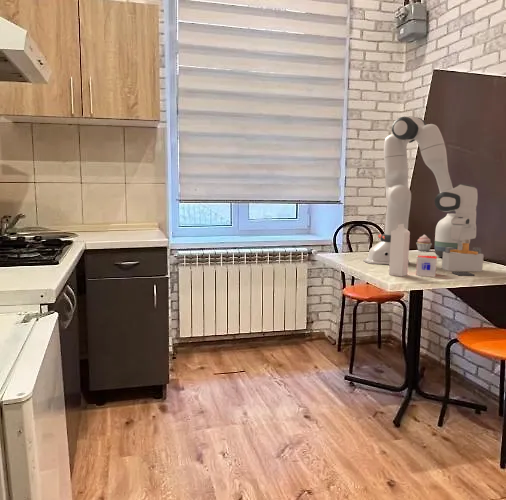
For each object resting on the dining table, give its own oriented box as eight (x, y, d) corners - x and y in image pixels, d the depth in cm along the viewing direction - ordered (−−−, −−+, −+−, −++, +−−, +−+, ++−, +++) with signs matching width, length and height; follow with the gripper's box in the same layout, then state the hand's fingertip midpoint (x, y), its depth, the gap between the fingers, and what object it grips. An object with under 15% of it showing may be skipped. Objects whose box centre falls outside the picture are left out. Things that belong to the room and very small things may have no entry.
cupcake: (421, 249, 305) (422, 233, 304) (434, 251, 298) (436, 234, 296) (412, 250, 300) (413, 234, 299) (425, 252, 292) (426, 235, 291)
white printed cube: (435, 273, 220) (436, 256, 219) (435, 276, 213) (436, 258, 212) (416, 272, 223) (417, 255, 222) (415, 275, 215) (416, 257, 214)
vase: (470, 260, 262) (474, 215, 258) (436, 259, 265) (439, 214, 261) (462, 256, 278) (466, 213, 275) (431, 254, 281) (434, 212, 278)
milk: (407, 275, 216) (410, 224, 213) (401, 276, 211) (405, 225, 208) (394, 273, 219) (397, 223, 216) (388, 274, 215) (391, 224, 212)
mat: (458, 275, 216) (458, 274, 216) (451, 272, 223) (451, 271, 222) (474, 275, 216) (474, 274, 216) (467, 273, 223) (467, 271, 223)
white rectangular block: (448, 270, 228) (449, 248, 226) (441, 268, 234) (443, 246, 233) (482, 271, 228) (484, 248, 227) (474, 268, 235) (476, 247, 234)
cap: (447, 251, 233) (447, 242, 232) (450, 251, 236) (451, 241, 236) (475, 254, 224) (476, 244, 224) (479, 253, 228) (479, 244, 227)
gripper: (467, 218, 238) (465, 247, 240) (449, 220, 223) (447, 250, 225) (481, 219, 233) (478, 248, 235) (463, 221, 219) (461, 252, 221)
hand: (463, 249), depth 230 cm, fingers closed on cap, 5 cm apart
